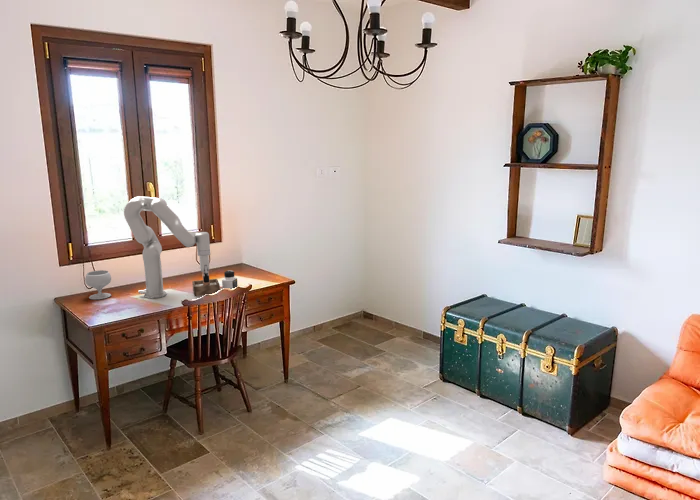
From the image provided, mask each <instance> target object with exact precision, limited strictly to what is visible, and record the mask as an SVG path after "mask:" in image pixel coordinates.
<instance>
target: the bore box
mask: <svg viewBox="0 0 700 500" xmlns="http://www.w3.org/2000/svg"><path fill="white" fill-rule="evenodd" d="M209 279H210V278H209ZM220 285H221V284H220V282H219V281H218V278H211V279H210V285H205V286H203V279H200V280H192V292H193V295H194V297H195V296H196V297H202V295H205V294H212V293H215V292H217V291H218V290H220V291H221V286H220Z"/></svg>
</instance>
